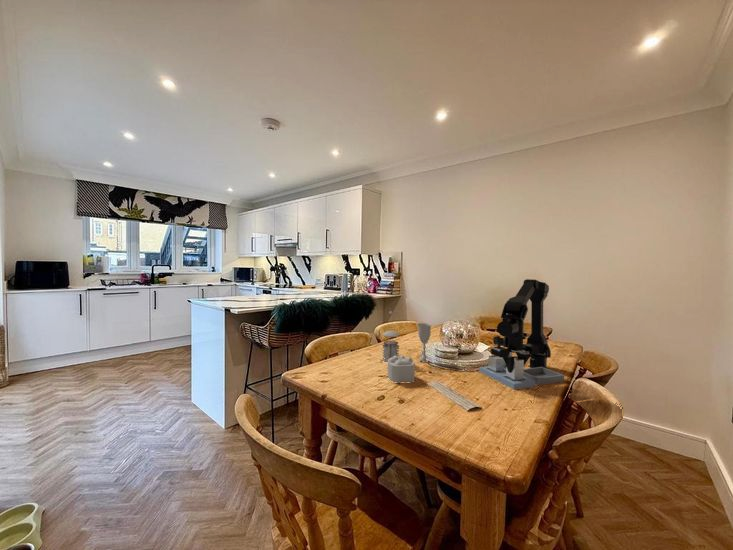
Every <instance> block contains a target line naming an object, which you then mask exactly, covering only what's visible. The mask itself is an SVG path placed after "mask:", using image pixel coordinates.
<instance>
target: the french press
mask: <svg viewBox="0 0 733 550" xmlns="http://www.w3.org/2000/svg"><path fill="white" fill-rule="evenodd" d="M388 314H390V315H393V314H394V312H393V311H392V310H391V311H390V310H389V312H388ZM382 336H383V337H387V338H391V340H385V341H383V344H382V360H383V361H384V362H388V359H389V358H391V357H393V356H400V355H399V352H400V345H398V344H399V342H398V341H396V340H393V338H396V337H399V336H400V334H399V333H398V331H394V330H386V331H384V332H383V333H382ZM384 358H385V359H384Z"/></svg>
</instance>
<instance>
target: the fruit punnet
mask: <svg viewBox="0 0 733 550" xmlns="http://www.w3.org/2000/svg"><path fill="white" fill-rule="evenodd" d="M415 365H416V364H415V361H413V359H412V357H410V356H407V357H405V356H404V355H402V354H400V355H399V356H393V357H391V358H389V359H388V365H387V375H388V377H387V379H388V378H389V379H390V380H391V381H393V382H397V383H401V382H413V381H414V380H415V371H416V370H415V367H416V366H415ZM389 379H388V380H389ZM390 380H389V381H390ZM414 382H415V381H414ZM414 382H413V383H414Z"/></svg>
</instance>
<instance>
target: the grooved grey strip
mask: <svg viewBox="0 0 733 550" xmlns="http://www.w3.org/2000/svg"><path fill="white" fill-rule="evenodd" d="M427 384H428V385H429V386H431V387H432V388H434V389H435V390H437V391H438V392H440V393H441V394H443V395H444V396H446V397H447V398H449V399H450V400H452V401H453V402H455V403H456V404H457V406H458V405H459V406H460V408H461V407H462V408H463V409H462V408H461V409H462V410H464V409H465V410H466V411H465V410H464V411H465V412H467V411H469V410H470V409H473V408H476V407H477V408H478V407H479V409H480V408H481V409H483V407H482V406H480V405H479V404H477V403H476V402H474V401H472V400H470V399H469V398H467V397H465V396H464V395H462V394H460V393H459V392H457V391H455V390H454V389H452V388H450V386H447V385H446V384H445V383H442V382H440V381H436V380H433V381H429V382H428V383H426V385H427ZM428 385H427V386H428ZM429 386H428V387H429ZM431 387H430V388H431ZM432 388H431V389H432ZM434 389H433V390H434ZM435 390H434V391H435ZM437 391H436V392H437ZM438 392H437V393H438ZM440 393H439V394H440ZM441 394H440V395H441ZM443 395H442V396H443ZM444 396H443V397H444ZM446 397H445V398H446ZM447 398H446V399H447ZM449 399H448V400H449ZM450 400H449V401H450ZM452 401H451V402H452ZM453 402H452V403H453ZM455 403H454V404H455ZM456 404H455V405H456ZM459 406H458V407H459Z"/></svg>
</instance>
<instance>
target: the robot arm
mask: <svg viewBox="0 0 733 550" xmlns="http://www.w3.org/2000/svg"><path fill="white" fill-rule="evenodd" d="M549 290H550V286H549V285H548V284H547V283H546V282H543V281H539V280H538V279H534V278H533V279H532V278H530V279H528V278H527V279H524V280H523V284H522V286H521V287H520V289H519V290H518V291H517V293H516V295H515V296H513V297H510V298H508V299H507V301H506V302H505V303H504V304H503V305H504V306H503V309H502V312H501V315H500V318H501V320H502V321H500V322H499V323H497V325H496V326H497V327H496V331H497V333H498V334H499V335H497V336H496V335H495V336H493V338H492V341H493V344H494V345H497V346H492V347H491V348H490V354H491V355H496V356H498V357H501V358H503V359H504V361H505V364H506V367H507V369H508V372H509V373H511V371H512V368H513V363H514V358H515V357H514V355H513V354H515V356H516V357H517V358H520V359H523V360H524V366H526V364H527V362H528V360H529V365H527V367H529V368H536V367H544V368H546V369H549V370H550V368H549V367H548V366H547V362H548V360H547V359H548V358H551V357H552V355H551V354H552V353H551V352H552V351H551V349H550V345H549V344H548V339H547V337H546V335H545V334H544V301H545V300H546V299H547V297H548V295H549ZM529 300H530V302H531V304H530V305H531V306H530V307H531V309H530V311H531V322H530V323H531V331H530V332H531V333H530V335H529V336H528V337H526V336H525V335H524V322H525V319H526V317H527V314H528V311H529V307H528V305H527V304H528V302H529ZM500 336H502V337H500ZM526 338H527V339H526ZM524 340H526V343H524Z"/></svg>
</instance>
